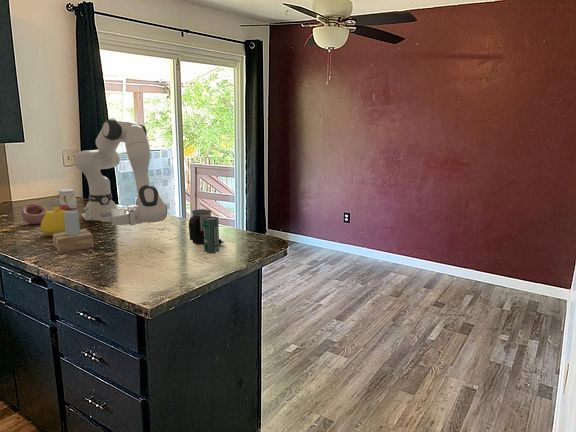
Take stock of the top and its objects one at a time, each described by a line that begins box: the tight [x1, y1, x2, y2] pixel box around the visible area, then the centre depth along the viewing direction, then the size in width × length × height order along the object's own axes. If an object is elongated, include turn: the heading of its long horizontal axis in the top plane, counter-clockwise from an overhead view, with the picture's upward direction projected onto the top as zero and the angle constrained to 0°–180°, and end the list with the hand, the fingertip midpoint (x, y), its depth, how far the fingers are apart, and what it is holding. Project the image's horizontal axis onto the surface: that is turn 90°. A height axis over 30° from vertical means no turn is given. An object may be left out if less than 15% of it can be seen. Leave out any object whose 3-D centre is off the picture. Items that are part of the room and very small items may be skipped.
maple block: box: [51, 228, 95, 253], centre depth 196 cm, size 14×14×6 cm
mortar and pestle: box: [20, 203, 47, 225], centre depth 234 cm, size 12×12×11 cm
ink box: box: [58, 188, 78, 210], centre depth 274 cm, size 9×5×12 cm, turn 138°
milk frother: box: [188, 209, 225, 246], centre depth 201 cm, size 14×16×15 cm
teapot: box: [40, 206, 68, 237], centre depth 214 cm, size 20×16×14 cm
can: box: [203, 215, 220, 254], centre depth 189 cm, size 6×6×15 cm
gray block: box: [64, 210, 81, 235], centre depth 194 cm, size 5×5×10 cm
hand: (100, 217), depth 199 cm, fingers open, 8 cm apart
